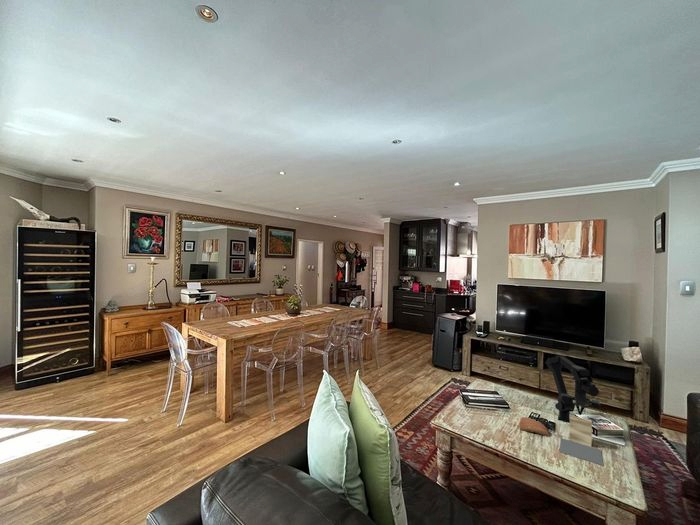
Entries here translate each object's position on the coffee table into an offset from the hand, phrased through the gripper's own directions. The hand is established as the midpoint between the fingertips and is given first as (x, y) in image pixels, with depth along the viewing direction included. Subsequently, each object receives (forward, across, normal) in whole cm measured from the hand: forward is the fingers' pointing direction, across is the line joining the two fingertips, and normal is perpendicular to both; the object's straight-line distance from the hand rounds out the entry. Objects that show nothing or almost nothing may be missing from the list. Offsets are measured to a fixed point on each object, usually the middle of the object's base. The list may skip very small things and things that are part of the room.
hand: (579, 414), depth 186 cm
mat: (+10, 0, -25) cm, 27 cm away
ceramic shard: (+10, -23, -14) cm, 29 cm away
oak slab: (+10, 0, -14) cm, 17 cm away
